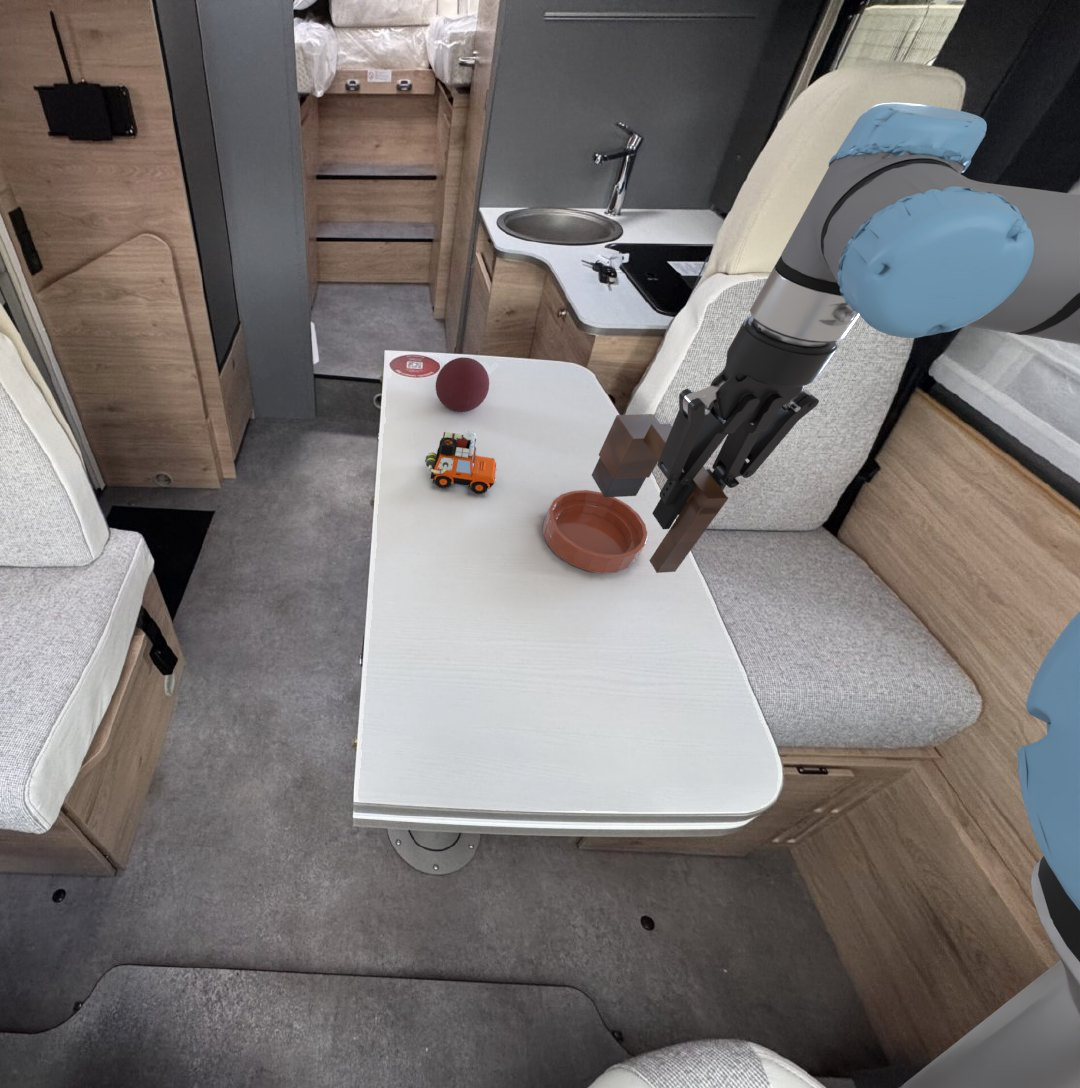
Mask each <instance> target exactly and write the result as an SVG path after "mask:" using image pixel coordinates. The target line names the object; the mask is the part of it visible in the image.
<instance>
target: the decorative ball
mask: <svg viewBox="0 0 1080 1088" xmlns="http://www.w3.org/2000/svg"><path fill="white" fill-rule="evenodd" d="M487 371H488V370H486V368H485V366H484V365H483V364H482V363H480V361H478V360H476V359H474V358H471V357H465V356H463V357H457V358H453V359H451V360H449V361H448V362H447V363H445V364H444V365H443V366H442V367H441V369H440V370H439V372H438V373H437V377H436V380H435V394H436V396H437V398H438V400H439V402H440V403H441V404H442V406H444V407H445V408H446V409H448V410H449V411H452V412H455V413H467V412H471V411H473V410H475V409H476V408H479V406H480V405H481V404H482V403H484V401H485V399H486V398H487V396H488V393H489V390H490V377H489V373H488V372H487Z"/></svg>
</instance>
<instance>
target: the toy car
mask: <svg viewBox="0 0 1080 1088" xmlns="http://www.w3.org/2000/svg"><path fill="white" fill-rule="evenodd" d="M477 438H478V436H477V434H476V432H474V431H465V432H464V433H463V434H461V433H456V432H448V431H444V432H443V434H442V437H441V439H440V441H439V444H438V448H437V450H436V453H435V452H428V453H427V455H426V456H425V460H424V463H425V466H426V467H427V468H428V471H429V472H431V473H430V478H429V479H431V480H432V484H434V483H435V485H436V487H438V488H441V489H447V488H449V487H451V485H452V484H453V485H460V486H466V487H468V488H470V491H472V493H474V494H476V495H482V494H486V492H487V491H488V490H490V489H491V488H492V487H493V486H494V485H495V483H496V482H497V478H496V471H497V470H498V466H497V462H496V459H495V458H493V457H486V456H480V455H477V454H476V453H477V447H476V441H477Z"/></svg>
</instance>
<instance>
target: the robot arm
mask: <svg viewBox="0 0 1080 1088" xmlns="http://www.w3.org/2000/svg"><path fill="white" fill-rule="evenodd" d="M987 126H988V125H987V122H986V120H985V119H984V118H982V117H981V116H978V115H976V114H973V113H970V112H967V111H962V110H959V109H958V110H957V109H953V108H948V107H941V106H935V105H930V104H929V105H928V104H919V103H910V102H909V103H907V102H884V103H879V104H875V105H874V106H872V107H870V108H868V109H867V110H866V111H864V112H863V113H862V114H861V115H859V117H858V118H857V120H856V121H855V123H854V125H853V126H852V127H851V129H850V131H849V133H848V134H847V136H846V137H845V138H844V140H843V142H842V144H841V145H840V147H839V148H838V150H837V151H836V153H835V154H834V155H832V157H831V158H830V160H829V162H828V168H827V170H826V171H825V173H824V176H823V177H822V179H821V181H820V183H819V184H818V186H817V188H816V190H815V192H814V194H813V195H812V197H811V199H810V201H809V203H808V205H807V207H806V209H805V210H804V212H803V214H802V216H801V217H800V219H799V221H798V223H797V224H796V226H795V229H794V230H793V232H792V234H791V235H790V238H789V239H788V241H787V243H786V245H785V247H784V248H783V250H782V252H781V254H780V256H779V257H778V260H777V262H776V263H775V264H774V266H773V268H772V270H771V271H770V273H769V275H768V277H767V279H766V280H765V282H764V284H763V286H762V287H761V289H760V291H759V293H758V294H757V296H756V298H755V300H754V302H753V303H752V304H751V307H750V309H749V312H750V314H751V315H750V316H748V317H746V318H745V319H744V320H743V322H742V323H741V325H740V327H739V329H738V331H737V332H736V334H735V336H734V338H733V340H732V342H731V343H730V345H729V347H728V348H727V351H726V359H725V360H726V361H725V366H724V368H723V369H722V371H720V373H719V374H718V375H716V376H715V377H714V378H713V380H712V381H711V383H710V385H709V386H708V387H705V388H702V389H700V390H698V391H695V392H694V391H693V389H691V388H685V389H683V390H682V391H681V392H680V393H679V395H678V412H677V414H676V416H675V419H674V421H673V424H672V425H671V426H672V429H671V431H670V434H669V436H668V439H667V441H666V444H665V446H664V449H663V451H662V453H661V456H660V458H659V461H658V462H657V464H656V466H657V468H658V469H659V470H660V472H661V473H662V474H663V476H664V477H665V478H666V481H665V483H664V484H663V487H662V489H661V490H660V492H659V498H660V499H659V500H658V502H657V504H656V505H655V507H654V509H653V511H652V515H653V517H654V518H655V521H657V523H658V524H659V526H660V528H661V529H662V530H670V528H671V527H672V525H673V524H674V522H675V521H676V519H677V518H678V516H679V515H680V513H681V512H682V510H683V509H684V507H685V506H686V504H687V500H688V498H689V497H690V495H691V493H692V492H693V490H694V489H695V487H696V486H695V485H694V483H693V482H692V480H693V479H694V478H695V476H696V475H697V474H698V472H699V471H700V470H701V468H702V467H703V466H704V467H705V465H706V464H707V462H708V461H709V459H710V458H711V457H712V455H713V454H714V453H715V451H716V450H718V448H719V447H720V445H721V444H722V442H723V444H722V445H721V448H720V450H719V452H718V454H717V456H716V457H715V460H714V462H713V464H712V470H713V471H712V470H711V469H710V468H705V469H706V470H707V471H708V473H709V474H710V475H711V476H712V478H713V479H714V480H715V482H716V483H717V484H718V485H719V487H720V488H721V489H722V490H723V491H724V490H725V488H726V487H728V489H733V488H736V487H737V486H739V484H740V482H739V480H738V479H737V478H738V477H742V478H744V479H748V478H751V477H752V476H754V474H755V473H756V472H757V471H758V470H759V468H760V467H761V466H762V465H763V463H764V462H765V461H766V460H767V459H768V457H769V456H770V455H771V454H772V453H773V452H774V450H776V448H777V447H778V446H779V445H780V443H781V442H782V441H783V440H784V439H785V437H786V436H788V434H789V433H790V432H791V430H792V429H793V428H794V427H795V425H796V424H797V423H798V422H799V421H800V420H801V419H802V418H804V417H805V416H806V415H807V414H809V413H810V412H811V411H812V410H813V409H815V408H816V407H817V406H818V405H819V403H820V400H819V398H817V397H816V396H815V395H813V394H812V393H811V392H810V391H809V390H808V389H807V388H806V387H805V386H808V385H810V384H812V383H813V382H814V381H815V380H816V379H817V378H818V377H819V376H820V374H821V372H822V371H823V369H824V368H825V367H826V365H827V364H828V362H829V361H830V359H831V358H832V357H833V355H834V354H835V353H836V351H837V349H838V341H839V340H842V339H844V338H845V336H847V333H848V332H849V331H850V330H851V328H852V327H853V325H854V324H855V323H856V321H857V320H858V318H859V316H860V318H861V319H863V321H864V322H866V324H867V325H869V326H870V327H871V328H872V329H874V330H876V331H878V332H880V333H883V334H885V335H888V336H892V337H897V338H903V339H919V338H922V337H927V336H933V335H937V334H941V333H949V332H953V331H955V330H959V329H961V328H964V327H970V328H976V329H981V330H987V331H993V332H999V333H1005V334H1008V333H1009V334H1015V335H1018V336H1028V337H1033V338H1039V339H1045V340H1051V341H1056V342H1062V343H1066V344H1073V345H1076V346H1077V345H1078V346H1080V194H1076V193H1069V192H1068V193H1067V192H1060V191H1053V190H1047V189H1037V188H1030V187H1029V188H1028V187H1021V186H1013V185H1005V184H996V183H989V182H982V181H978V180H975V179H970V178H968V177H966V176H965V175H962V174H963V173H965V172H966V170H968V168H969V166H970V165H971V163H972V158H973V156H974V155H975V153H976V151H977V150H978V148H979V146H980V144H981V143H982V142H983V139H984V138H985V137H986V132H987V129H988V128H987ZM747 460H748V461H747ZM1025 708H1026V711H1027V712H1028V714H1029V715H1030V716H1032V717H1034V718H1036V719H1038V720H1039V721H1042V722H1044V723H1045V724H1046V734H1045V735H1044V736H1042V737H1041V738H1040V739H1039V740H1037V741H1035V742H1032V743H1029V744H1026V745H1021V746H1020V747H1019V748H1018V749H1017V750H1016V753H1017V771H1018V772H1017V773H1018V779H1019V786H1020V791H1021V798H1022V802H1023V805H1024V810H1025V813H1026V816H1027V820H1028V823H1029V826H1030V829H1031V831H1032V833H1033V836H1034V839H1035V841H1036V844H1037V845H1038V847H1039V850H1040V851H1041V853H1042V857H1041V858H1040V859H1039V860H1038V862H1037V863H1036V864H1035V865H1034V866H1033V868H1032V873H1031V879H1030V888H1031V893H1032V901H1033V903H1034V906H1035V909H1036V912H1037V915H1038V918H1039V921H1040V922H1041V925H1042V927H1043V928H1044V931H1045V933H1046V934H1047V936H1048V938H1049V940H1050V942H1051V944H1052V946H1053V948H1054V950H1055V952H1056V955H1058V959H1059V960H1058V961H1057V962H1056V963H1054V964H1053V965H1052V966H1051V967H1049V968H1048V969H1047V970H1046V971H1044V972H1043V973H1041V975H1039V976H1038V977H1037V978H1036V979H1034V980H1033V981H1032V982H1031V983H1029V984H1028V985H1026V986H1025V987H1024V988H1023V989H1022V990H1021V991H1019V992H1018V993H1017V994H1015V995H1014V996H1013V997H1011V998H1010V999H1009V1000H1008V1001H1007V1002H1004V1004H1003V1005H1001V1006H999V1008H998V1009H997V1010H995V1011H994V1012H992V1013H991V1014H990V1015H989V1016H987V1017H986V1018H985V1019H983V1021H981V1022H980V1023H978V1025H976V1026H975V1027H973V1028H972V1029H971V1030H970V1031H969V1032H967V1033H966V1034H965V1035H963V1036H962V1037H961V1038H959V1040H958V1041H956V1042H954V1043H953V1044H952V1045H951V1046H950V1047H948V1048H947V1049H946V1050H944V1051H943V1052H942V1053H941V1054H939V1056H937V1057H936V1058H934V1059H933V1060H932V1061H930V1063H928V1064H927V1065H925V1066H924V1067H923V1068H922V1069H921V1070H920V1071H918V1072H917V1073H916V1074H914V1075H913V1076H912V1077H911V1078H909V1079H908V1080H907V1081H906V1082H905V1083H903V1084H902V1085H900V1086H899V1087H898V1088H1080V610H1079V611H1078V612H1077V613H1076V614H1075V615H1074V617H1072V618H1071V620H1070V621H1069V622H1068V624H1067V625H1066V626H1065V628H1063V630H1062V631H1061V633H1060V635H1059V636H1058V637H1057V638H1056V640H1055V641H1054V642H1053V644H1052V645H1051V647H1050V648H1049V650H1048V651H1047V654H1046V655H1045V657H1044V659H1043V660H1042V662H1041V664H1040V666H1039V668H1038V670H1037V672H1036V673H1035V676H1034V679H1033V681H1032V682H1031V686H1030V688H1029V690H1028V693H1027V697H1026V702H1025Z"/></svg>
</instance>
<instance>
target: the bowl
mask: <svg viewBox="0 0 1080 1088" xmlns="http://www.w3.org/2000/svg"><path fill="white" fill-rule="evenodd" d="M542 535H543V537H544V539H545V542H546V543H547V546H548V547H549V548H550V549H551V550H552V552H553V553H555V555H556V556H558V557H559V558H560V559H561V560H563V561H565V562H566V563H568V565H571V566H574V567H576V568H579V569H580V570H583V571H587V572H591V573H598V574H612V573H613V574H614V573H618V572H620V571H623V570H625V569H628V568H630V566H632V565H633V563H635V561H636V560H637V559H638V557H639V556H640V554H641V552H642V551H643V549H644V548H645V546H646V543H647V540H648V535H649V534H648V530H647V525H646V523H645V521H644V520H643V519H642V516H641V515H640V513H638V512H637V511H636V510H635V509H633V507H632V506H630V505H629V504H627V503H626V502H624V501H622V500H621V499H619V498H618V497H604V496H603V494H602V493H601V491H595V490H588V489H583V490H579V489H578V490H570V491H568V492H565V493H561V494H560V495H558V496H557V497H556V498H555V499H553V501H552V503H551V505H550V506H549V509H548V511H547V514H546V516H545V519H544V521H543V523H542Z"/></svg>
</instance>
